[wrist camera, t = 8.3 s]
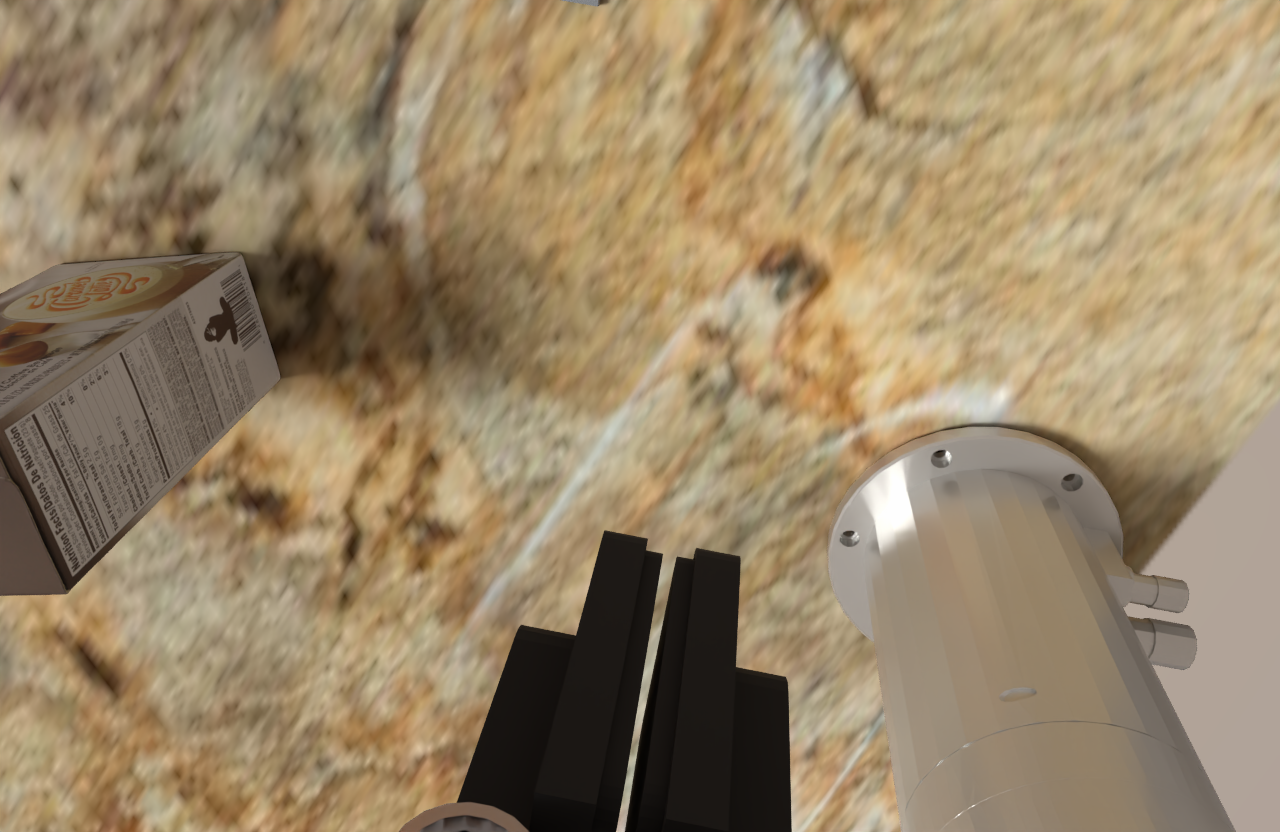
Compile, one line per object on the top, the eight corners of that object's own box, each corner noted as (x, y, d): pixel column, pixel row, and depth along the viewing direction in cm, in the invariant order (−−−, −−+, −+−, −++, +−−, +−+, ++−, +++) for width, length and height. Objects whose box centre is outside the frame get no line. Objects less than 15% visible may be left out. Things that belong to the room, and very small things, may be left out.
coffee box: (106, 391, 46) (-186, 607, 32) (54, 261, 43) (-292, 434, 29) (287, 380, 45) (66, 601, 31) (246, 245, 42) (-19, 419, 28)
